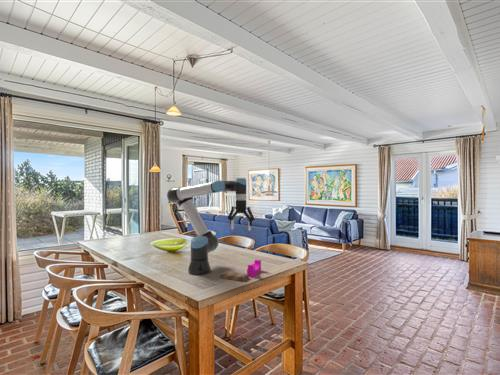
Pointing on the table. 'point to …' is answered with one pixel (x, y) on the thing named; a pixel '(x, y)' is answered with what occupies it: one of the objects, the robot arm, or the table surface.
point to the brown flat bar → (234, 276)
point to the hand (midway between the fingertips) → (240, 230)
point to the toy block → (254, 268)
